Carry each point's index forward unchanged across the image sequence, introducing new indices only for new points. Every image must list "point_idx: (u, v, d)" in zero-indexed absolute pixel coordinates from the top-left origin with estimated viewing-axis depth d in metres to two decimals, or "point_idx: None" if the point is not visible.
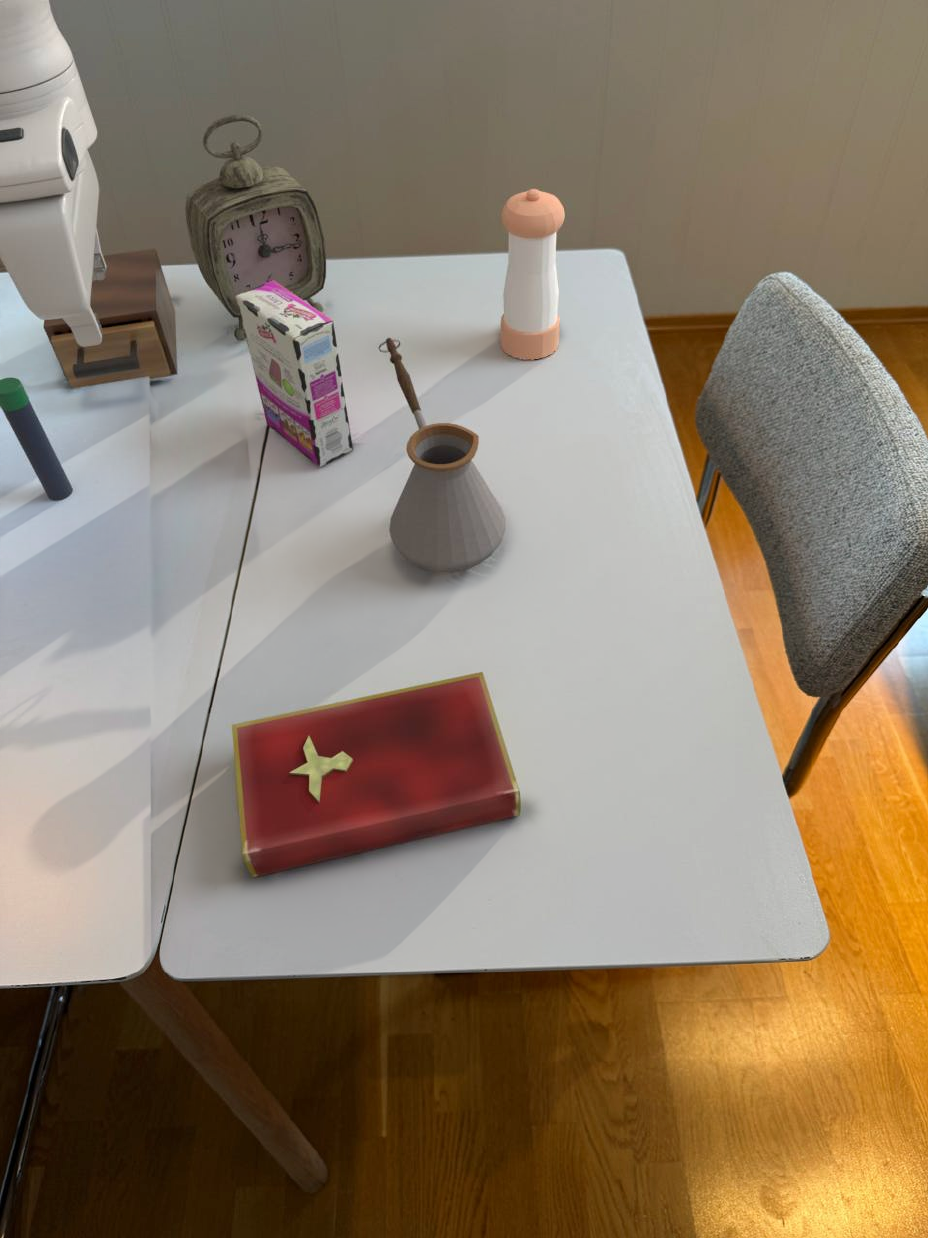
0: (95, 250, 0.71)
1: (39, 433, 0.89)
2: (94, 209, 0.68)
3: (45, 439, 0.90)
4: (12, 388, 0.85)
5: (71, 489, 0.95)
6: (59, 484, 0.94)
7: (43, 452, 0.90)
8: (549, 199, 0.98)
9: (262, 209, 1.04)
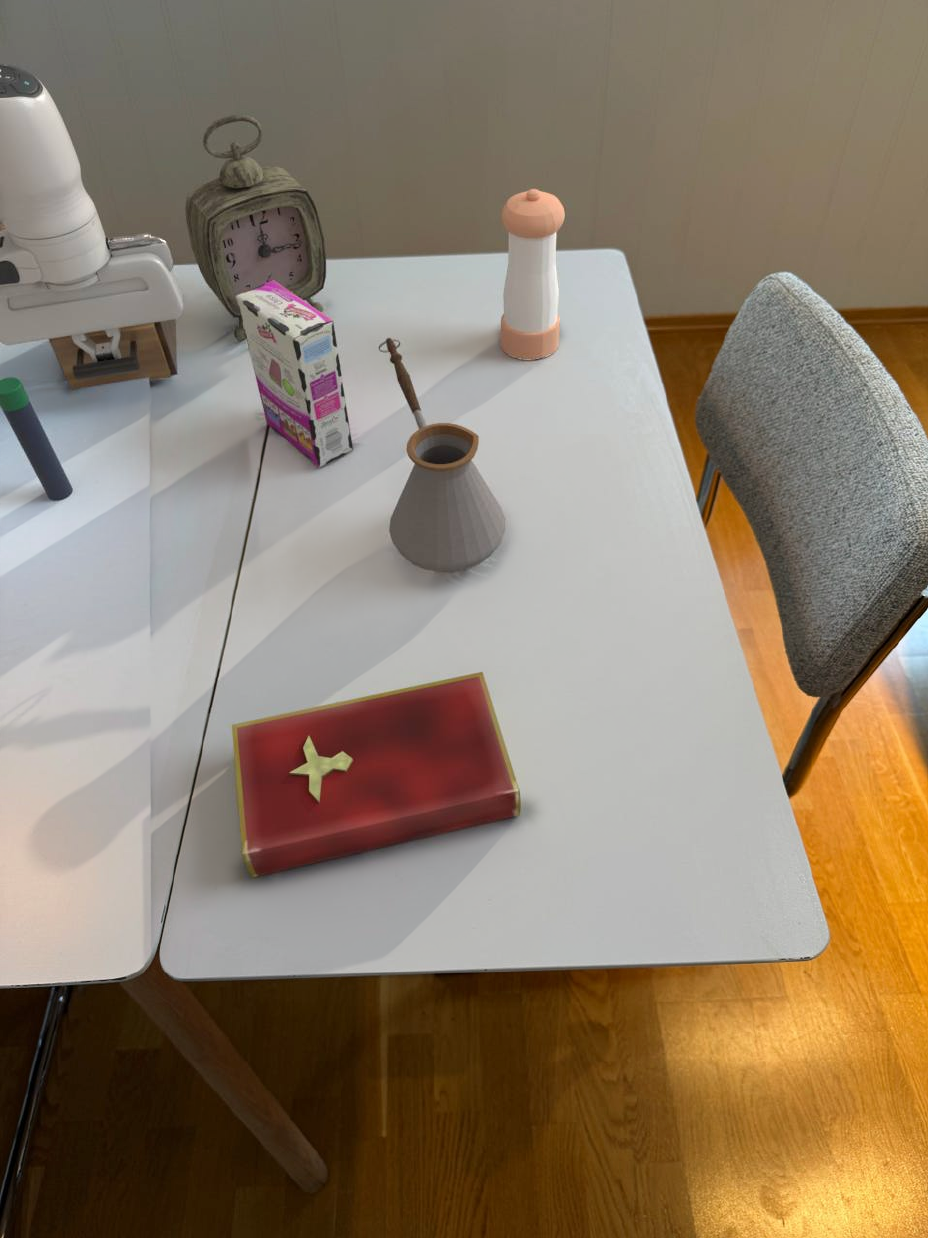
0: (110, 346, 1.01)
1: (39, 433, 0.89)
2: (124, 319, 0.98)
3: (45, 439, 0.90)
4: (12, 388, 0.85)
5: (71, 489, 0.95)
6: (59, 484, 0.94)
7: (43, 452, 0.90)
8: (549, 199, 0.98)
9: (262, 209, 1.04)
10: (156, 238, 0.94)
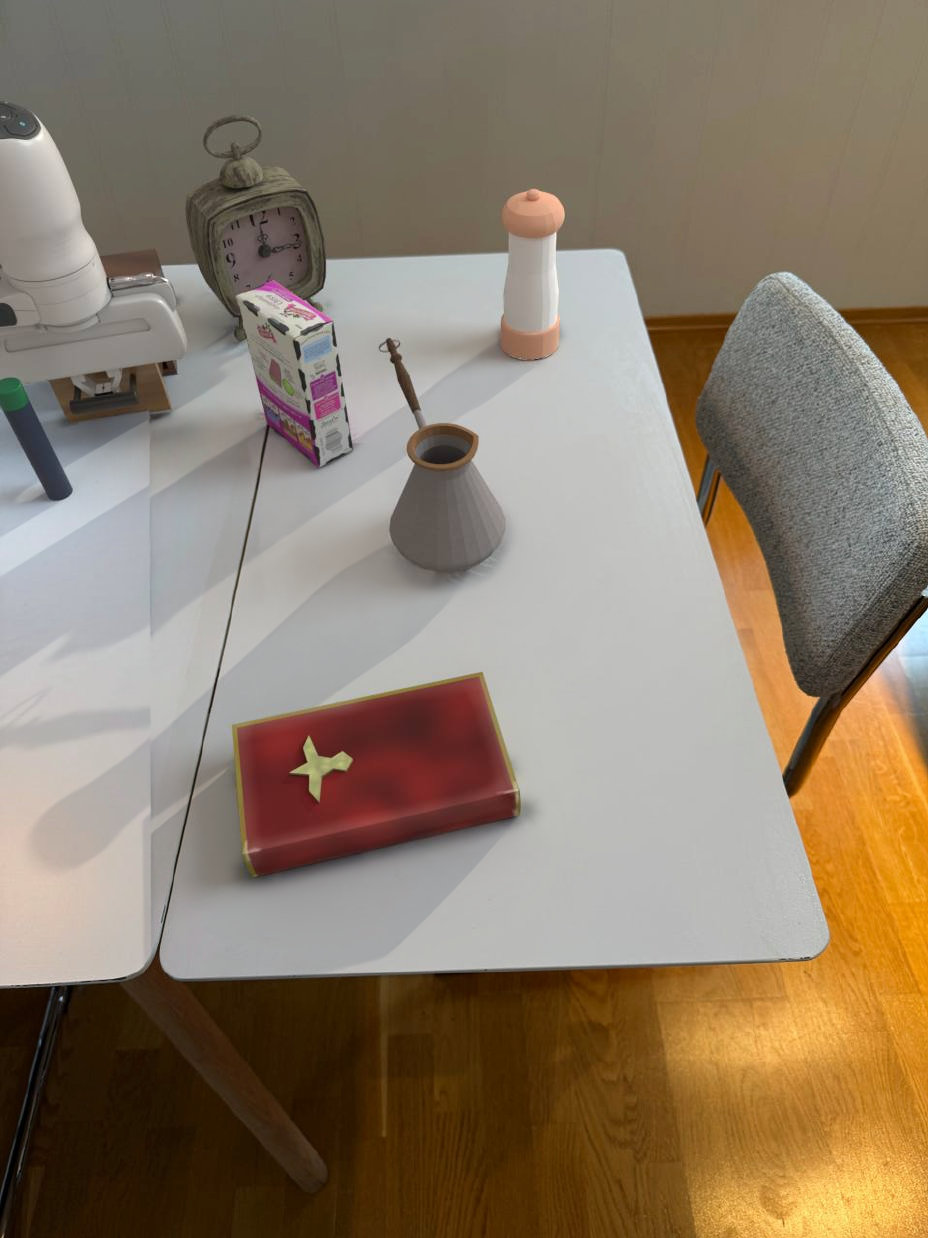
0: (111, 387, 0.98)
1: (39, 433, 0.89)
2: (125, 360, 0.94)
3: (45, 439, 0.90)
4: (12, 388, 0.85)
5: (71, 489, 0.95)
6: (59, 484, 0.94)
7: (43, 452, 0.90)
8: (549, 199, 0.98)
9: (262, 209, 1.04)
10: (159, 278, 0.90)
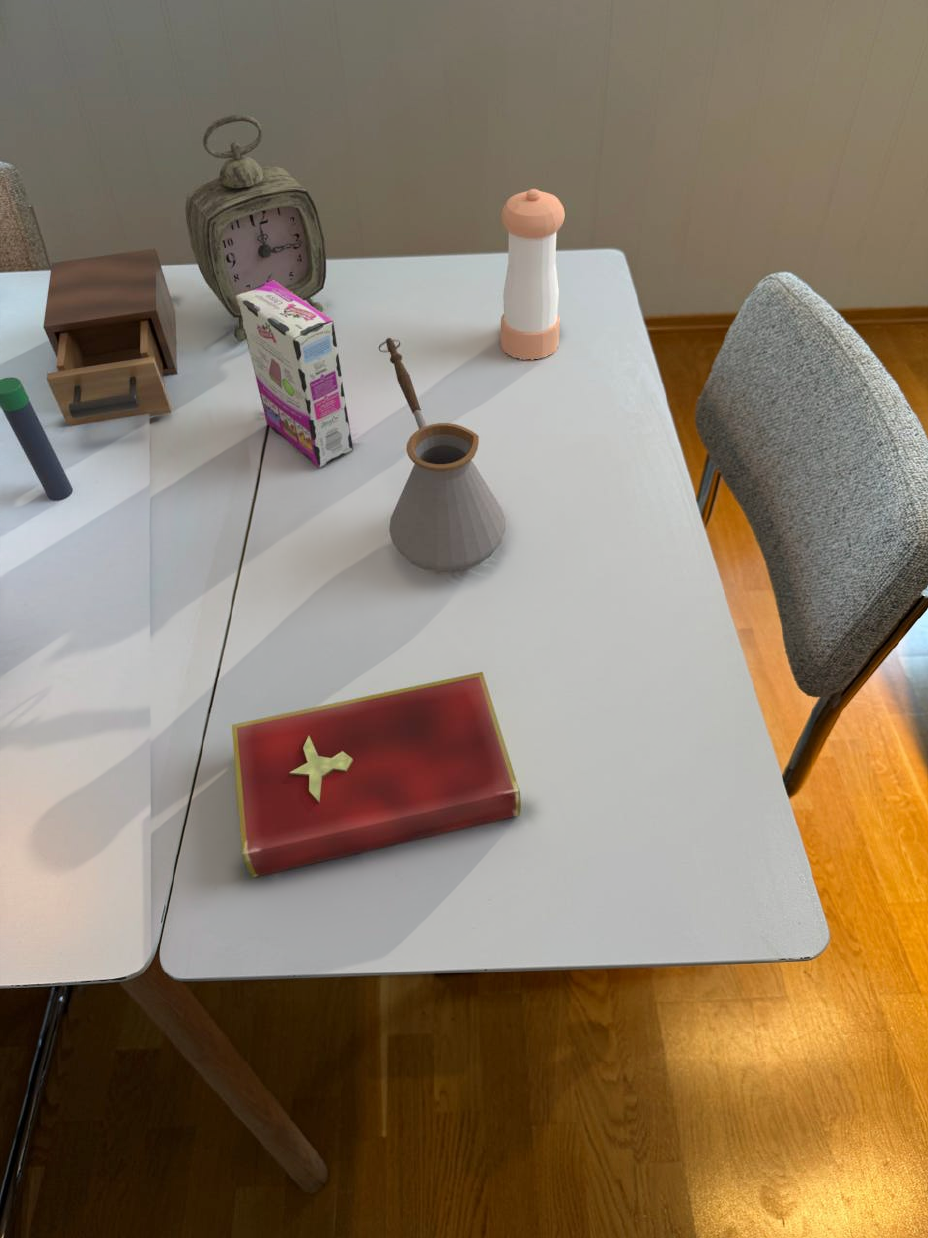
0: None
1: (39, 433, 0.89)
2: None
3: (45, 439, 0.90)
4: (12, 388, 0.85)
5: (71, 489, 0.95)
6: (59, 484, 0.94)
7: (43, 452, 0.90)
8: (549, 199, 0.98)
9: (262, 209, 1.04)
10: None
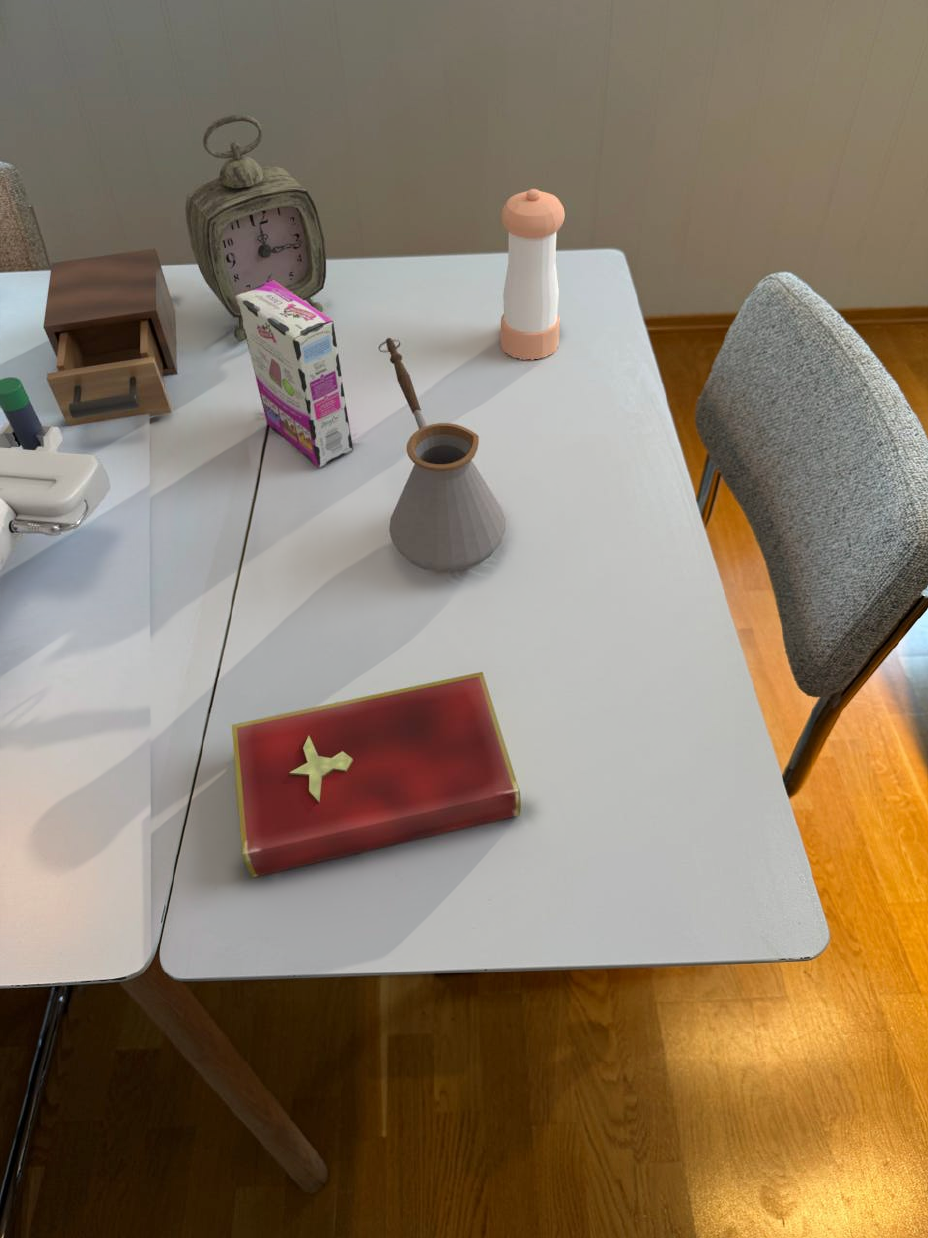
0: None
1: None
2: None
3: None
4: (12, 388, 0.85)
5: None
6: None
7: None
8: (549, 199, 0.98)
9: (262, 209, 1.04)
10: (65, 531, 0.81)
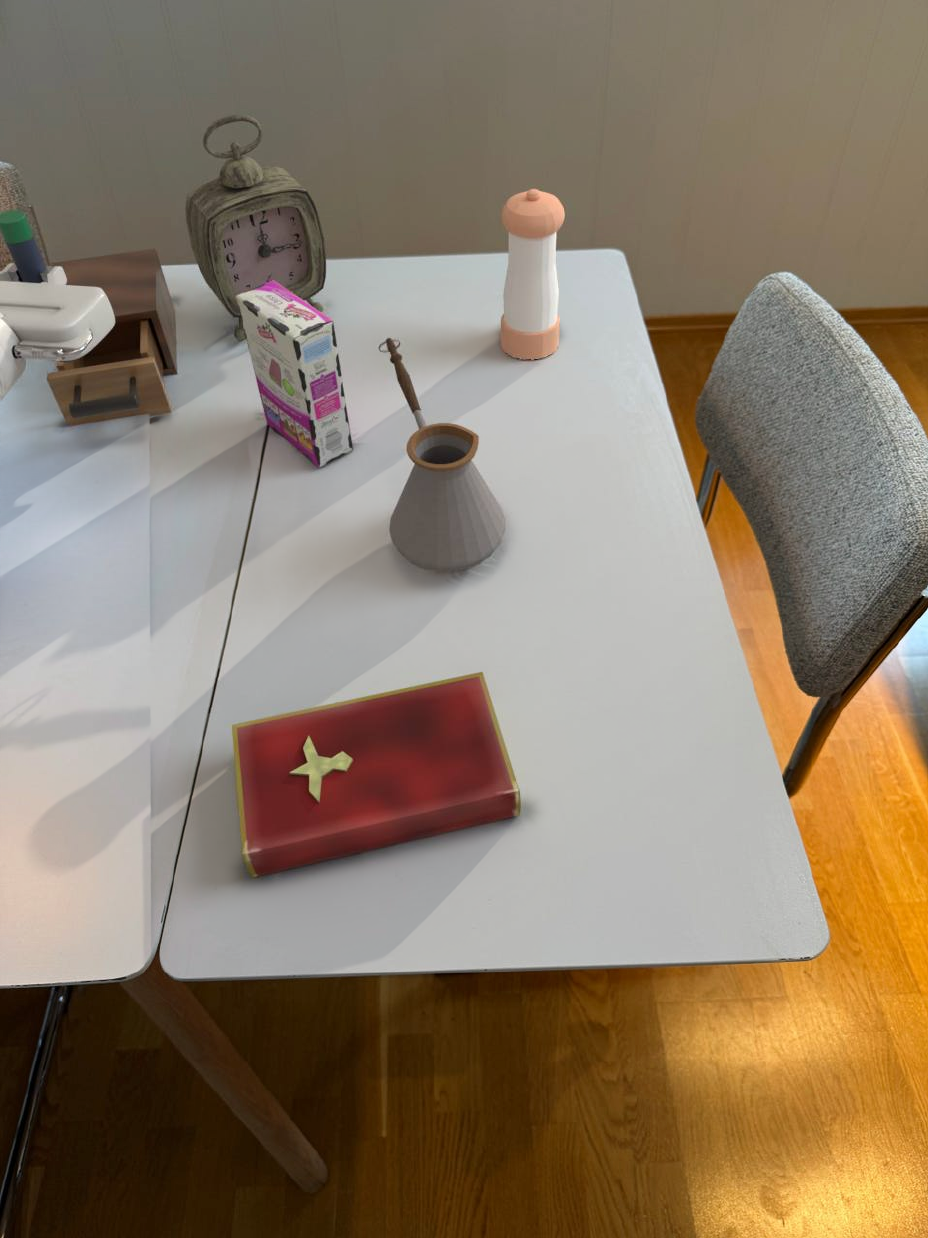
0: None
1: None
2: None
3: None
4: (16, 218, 0.84)
5: None
6: None
7: None
8: (549, 199, 0.98)
9: (262, 209, 1.04)
10: (69, 356, 0.80)
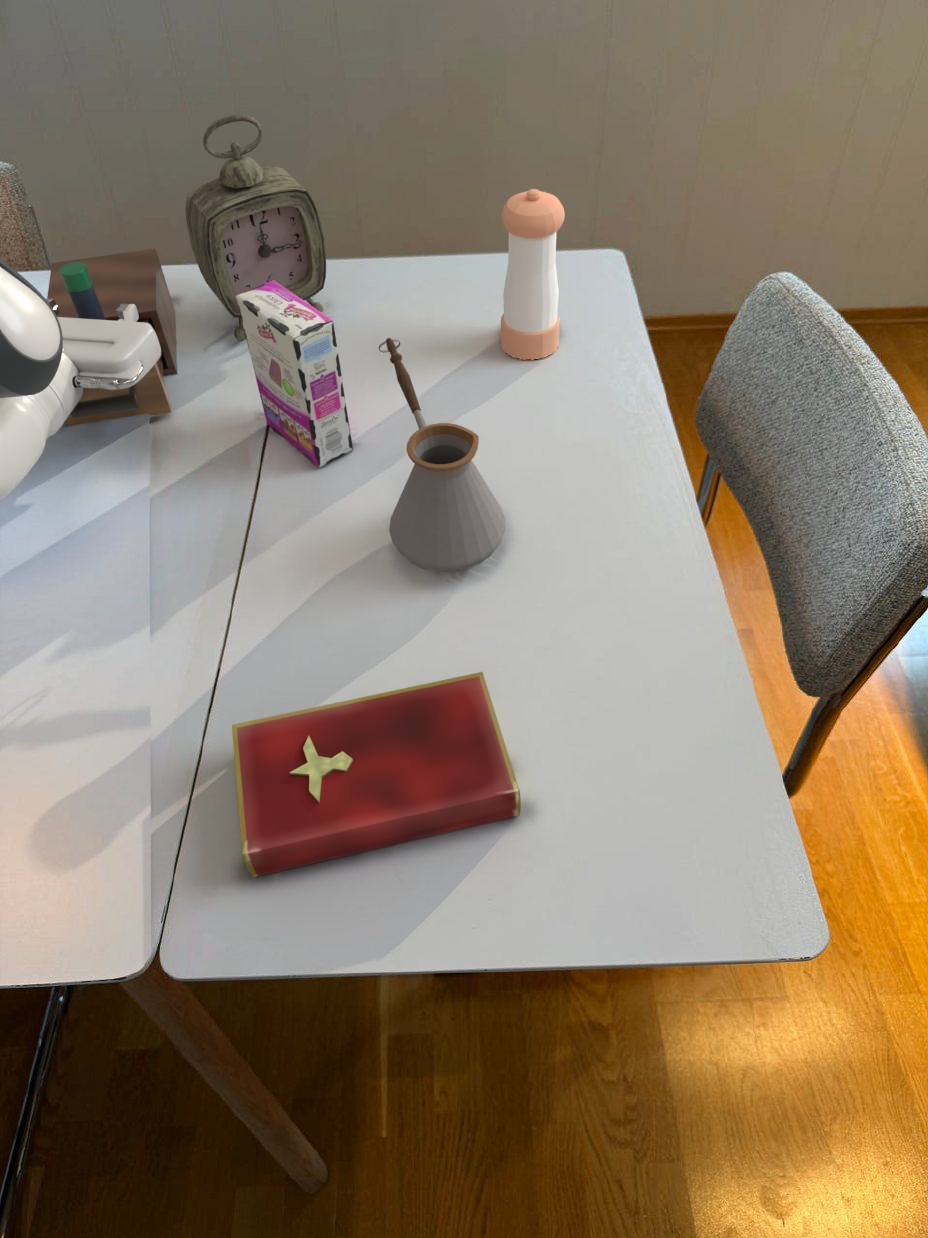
0: None
1: (100, 315, 0.99)
2: None
3: None
4: (78, 270, 0.94)
5: None
6: None
7: None
8: (549, 199, 0.98)
9: (262, 209, 1.04)
10: (123, 385, 0.90)
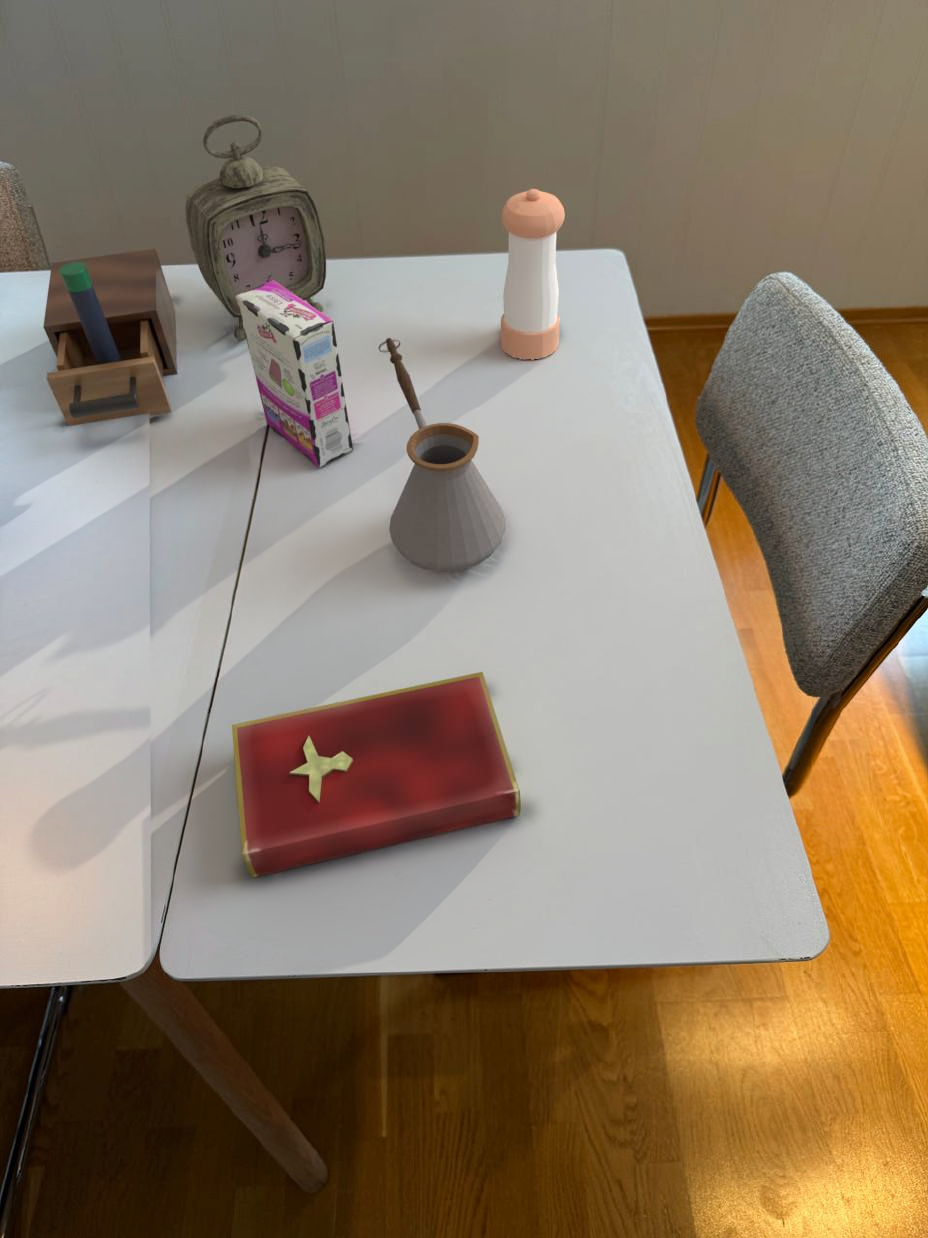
0: None
1: (100, 315, 0.99)
2: None
3: (105, 322, 1.00)
4: (78, 270, 0.94)
5: None
6: None
7: (103, 334, 1.00)
8: (549, 199, 0.98)
9: (262, 209, 1.04)
10: None
